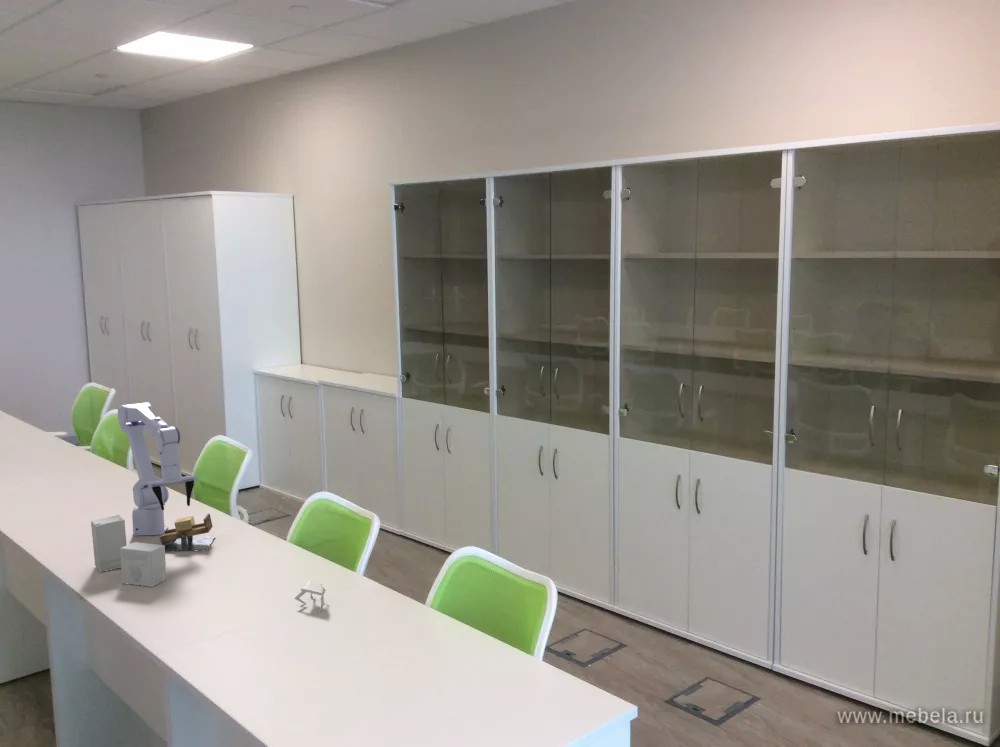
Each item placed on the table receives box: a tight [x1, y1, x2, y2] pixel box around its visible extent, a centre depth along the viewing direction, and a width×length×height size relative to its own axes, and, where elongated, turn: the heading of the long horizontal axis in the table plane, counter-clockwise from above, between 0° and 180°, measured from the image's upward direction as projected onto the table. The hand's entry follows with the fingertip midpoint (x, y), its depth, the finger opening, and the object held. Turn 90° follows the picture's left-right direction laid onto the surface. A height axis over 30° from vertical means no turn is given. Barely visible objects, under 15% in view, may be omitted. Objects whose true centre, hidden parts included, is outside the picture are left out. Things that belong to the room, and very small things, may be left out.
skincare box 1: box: [90, 514, 128, 573], centre depth 249 cm, size 8×6×15 cm
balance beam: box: [159, 513, 214, 545], centre depth 269 cm, size 15×6×6 cm, turn 96°
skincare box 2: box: [120, 541, 167, 588], centre depth 239 cm, size 10×6×10 cm, turn 74°
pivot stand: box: [165, 534, 213, 553], centre depth 270 cm, size 15×12×5 cm
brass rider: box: [174, 515, 196, 533], centre depth 269 cm, size 5×4×4 cm
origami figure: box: [294, 580, 327, 613], centre depth 224 cm, size 12×8×5 cm
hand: (175, 507), depth 267 cm, fingers open, 7 cm apart
